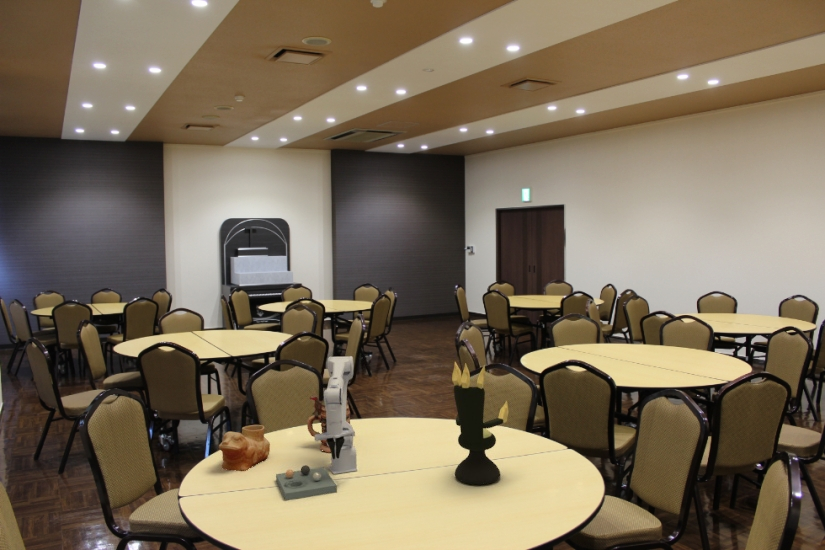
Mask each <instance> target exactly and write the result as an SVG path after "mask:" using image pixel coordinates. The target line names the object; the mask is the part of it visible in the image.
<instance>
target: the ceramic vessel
mask: <svg viewBox="0 0 825 550" xmlns="http://www.w3.org/2000/svg"><path fill="white" fill-rule="evenodd" d="M265 429H266V428H265V426H264V425H262V424H261V425H260V424H252V425H245V426H243V427H242V428H241V432H235V431H227V432H225V433H224V435H223V438H222V442H220V444H218V449H219V450H220V451H221V452H222V463H221V469H222V468H223V470H226V469H227V471H231V470H236V471H235V472H246V470H247V471H249V470H250V469H251V468H253V467H255V466H257V465H259V464H260V462H261V463H263V462H265V461H267V460H268V457H269V455H270V452H271V443H270V441H269V440H268V439H267V438H265ZM266 459H267V460H266ZM262 461H263V462H262ZM258 463H259V464H258ZM256 464H257V465H256ZM252 466H253V467H252ZM249 468H250V469H249ZM248 469H249V470H248Z"/></svg>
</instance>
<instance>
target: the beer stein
mask: <svg viewBox="0 0 825 550" xmlns="http://www.w3.org/2000/svg"><path fill="white" fill-rule="evenodd" d="M309 400H312V401H314V404H313V407H314V411H313V412H312V414H311V415H310V416H309V417H308V420H307V421H306V422H307V423H306V424H307V425H306V426H307V430H308V433H309V434H310V436H311V437H314V438H315V435H317V434H321V433H325V432H327V421H326V409H325V402H324V399H322V400H319V396H317V395H315V394H312V395H311V396H309ZM350 414H351V411H350V407H349V400H348V399H347V403H346V422H348V423H349V424H350V425H351V417H350ZM314 421H320V423H321V424H320V426H321V433H320V432H319V431H316V430H315V429H314V428H313V423H314ZM319 442H321V445H320V448H321V449H320V451H321V450H323V451H325V452H323V451H321V452H323V453H329V454H331V453H330V452H331V451H330V448H329V447H328V445H327V441H326V440H319Z"/></svg>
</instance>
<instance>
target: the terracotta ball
mask: <svg viewBox="0 0 825 550" xmlns="http://www.w3.org/2000/svg"><path fill="white" fill-rule="evenodd" d="M285 473H286V474H285V475H286V477H287V478H292V477H293V475H294V470H292V469H288V470H286V471H285Z"/></svg>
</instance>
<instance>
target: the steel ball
mask: <svg viewBox="0 0 825 550" xmlns="http://www.w3.org/2000/svg"><path fill="white" fill-rule="evenodd" d="M312 478H313V480H314V481H319V480H320V479H321V474H320V473H319V472H315V473H314V474H313V476H312Z"/></svg>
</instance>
